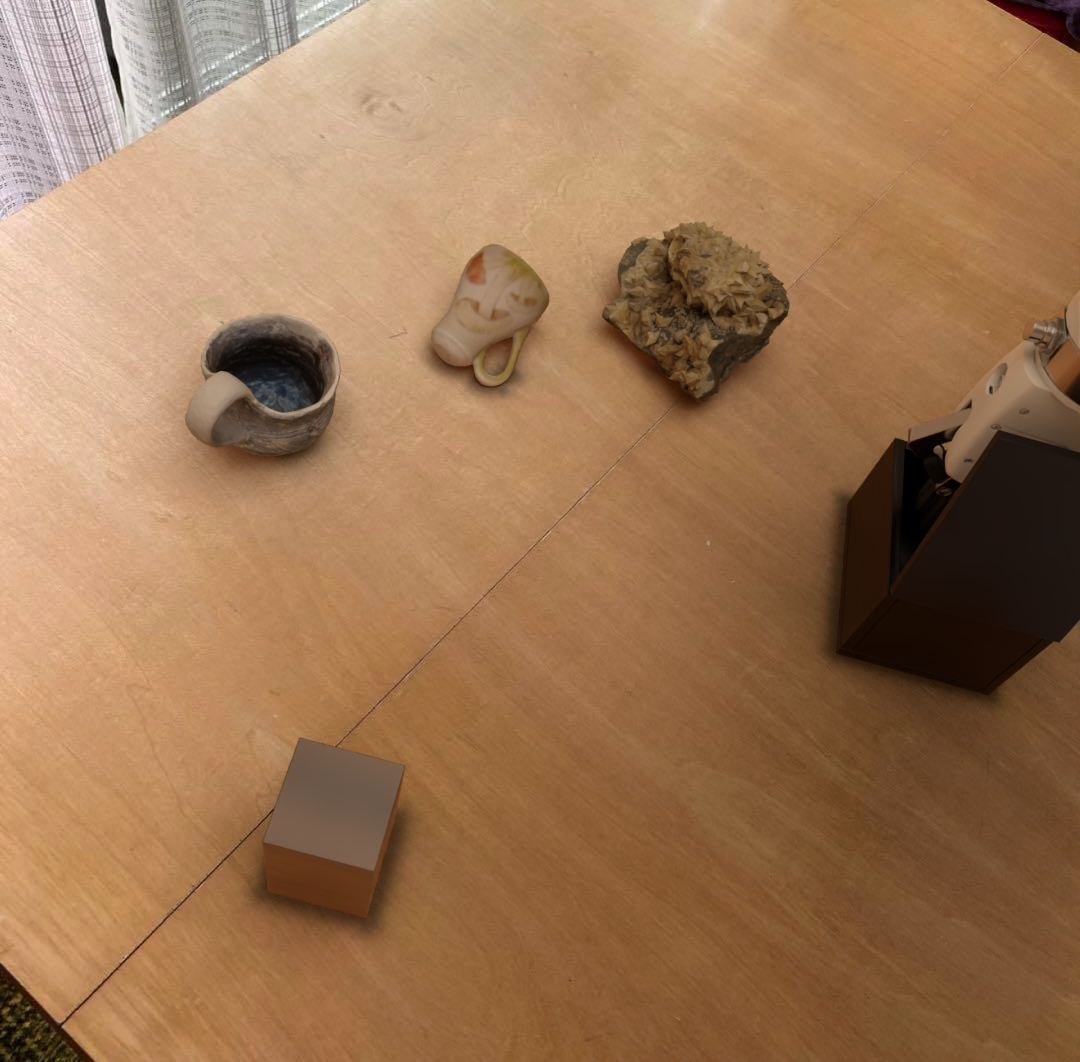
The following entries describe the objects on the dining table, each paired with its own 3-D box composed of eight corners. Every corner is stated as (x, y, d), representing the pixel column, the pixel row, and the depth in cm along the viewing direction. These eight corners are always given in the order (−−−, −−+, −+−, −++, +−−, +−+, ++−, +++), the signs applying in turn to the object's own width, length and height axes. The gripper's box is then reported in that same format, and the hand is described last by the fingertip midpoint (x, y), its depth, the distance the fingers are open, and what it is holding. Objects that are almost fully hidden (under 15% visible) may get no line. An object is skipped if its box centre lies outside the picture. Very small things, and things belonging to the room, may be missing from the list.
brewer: (847, 503, 91) (895, 436, 84) (988, 542, 91) (1047, 479, 84) (836, 653, 83) (887, 595, 76) (989, 695, 84) (1054, 641, 76)
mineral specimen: (557, 321, 96) (581, 232, 88) (654, 251, 102) (685, 162, 94) (690, 429, 92) (728, 347, 84) (782, 350, 98) (826, 267, 90)
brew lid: (997, 428, 65) (999, 438, 65) (1192, 483, 66) (1195, 493, 65) (889, 587, 76) (890, 596, 75) (1057, 633, 76) (1059, 643, 76)
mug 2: (400, 355, 91) (429, 233, 87) (477, 344, 99) (508, 230, 94) (470, 395, 88) (504, 270, 84) (544, 380, 96) (579, 265, 91)
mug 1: (360, 403, 88) (366, 313, 80) (284, 529, 81) (281, 445, 73) (244, 356, 88) (237, 262, 80) (159, 477, 82) (142, 388, 73)
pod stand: (366, 918, 68) (374, 871, 60) (267, 892, 68) (262, 842, 60) (394, 822, 72) (405, 765, 63) (300, 797, 71) (299, 736, 63)
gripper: (969, 366, 65) (843, 535, 80) (1255, 447, 65) (1076, 599, 81) (969, 274, 69) (849, 451, 84) (1238, 351, 70) (1071, 513, 85)
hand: (961, 522), depth 82 cm, fingers closed on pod, 4 cm apart
